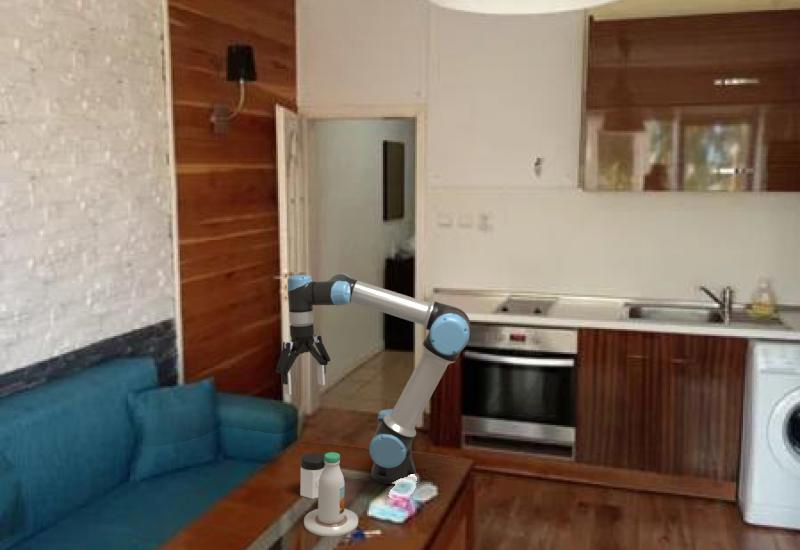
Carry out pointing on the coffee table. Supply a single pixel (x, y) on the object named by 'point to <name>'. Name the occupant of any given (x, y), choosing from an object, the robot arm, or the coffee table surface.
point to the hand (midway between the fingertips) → (304, 389)
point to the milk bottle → (331, 491)
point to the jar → (311, 474)
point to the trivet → (331, 529)
